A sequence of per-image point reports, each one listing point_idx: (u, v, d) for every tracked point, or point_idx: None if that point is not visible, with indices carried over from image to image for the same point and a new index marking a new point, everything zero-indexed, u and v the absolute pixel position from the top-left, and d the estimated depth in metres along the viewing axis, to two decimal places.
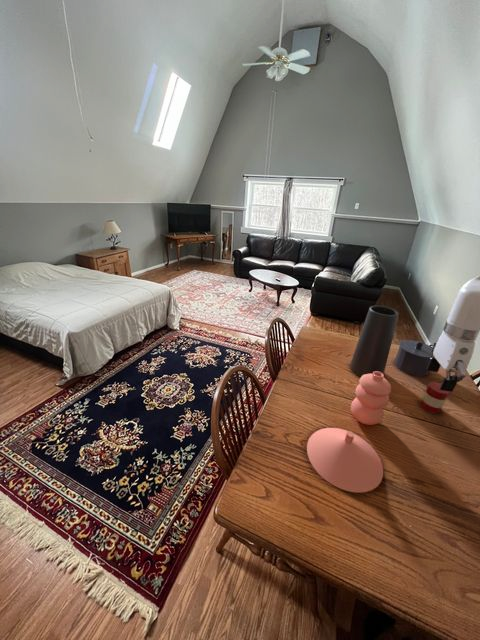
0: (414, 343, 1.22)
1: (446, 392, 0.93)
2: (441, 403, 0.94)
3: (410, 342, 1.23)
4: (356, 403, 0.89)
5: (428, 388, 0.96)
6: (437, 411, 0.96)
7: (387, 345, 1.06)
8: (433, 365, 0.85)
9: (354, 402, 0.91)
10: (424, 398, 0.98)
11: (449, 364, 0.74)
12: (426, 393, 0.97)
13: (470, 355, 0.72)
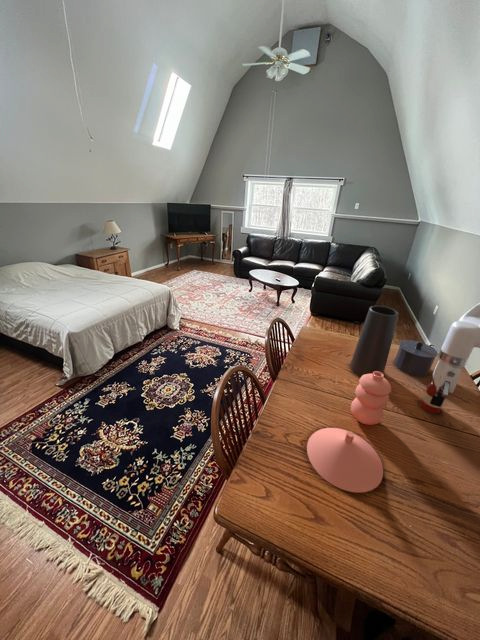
0: (414, 343, 1.22)
1: None
2: None
3: (410, 342, 1.23)
4: (356, 403, 0.89)
5: (428, 388, 0.96)
6: (437, 411, 0.96)
7: (387, 345, 1.06)
8: None
9: (354, 402, 0.91)
10: (424, 398, 0.98)
11: (439, 383, 0.90)
12: (426, 393, 0.97)
13: (456, 378, 0.87)
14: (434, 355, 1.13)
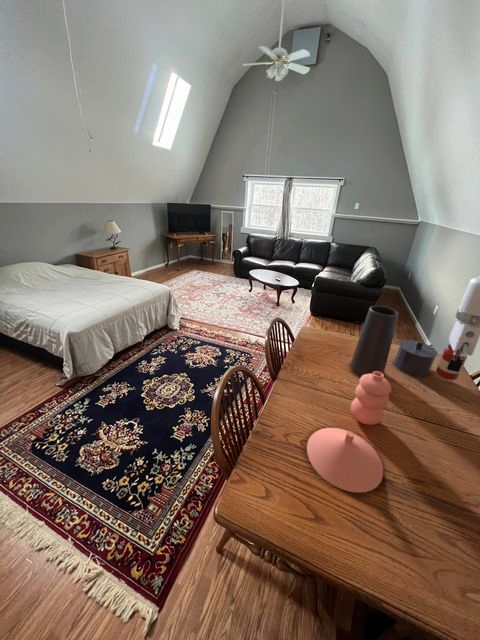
0: (414, 343, 1.22)
1: None
2: None
3: (410, 342, 1.23)
4: (356, 403, 0.89)
5: (444, 353, 0.90)
6: (454, 377, 0.90)
7: (387, 345, 1.06)
8: None
9: (354, 402, 0.91)
10: (440, 364, 0.92)
11: (456, 346, 0.84)
12: (442, 359, 0.91)
13: (476, 338, 0.81)
14: (434, 355, 1.13)
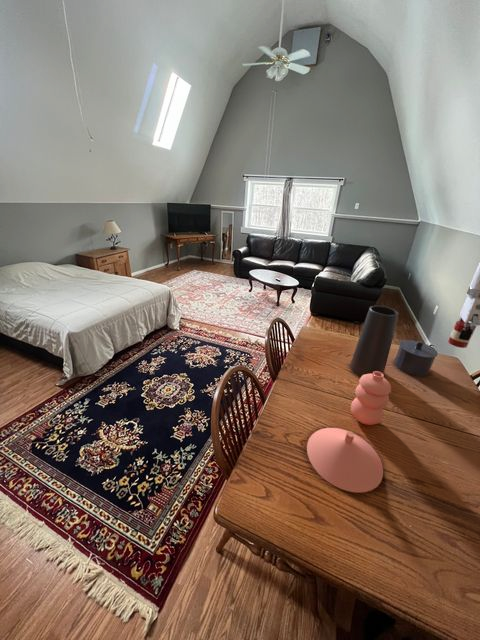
0: (414, 343, 1.22)
1: None
2: None
3: (410, 342, 1.23)
4: (356, 403, 0.89)
5: (456, 325, 1.06)
6: (464, 346, 1.06)
7: (387, 345, 1.06)
8: None
9: (354, 402, 0.91)
10: (452, 335, 1.08)
11: (467, 317, 1.00)
12: (454, 330, 1.07)
13: None
14: (434, 355, 1.13)
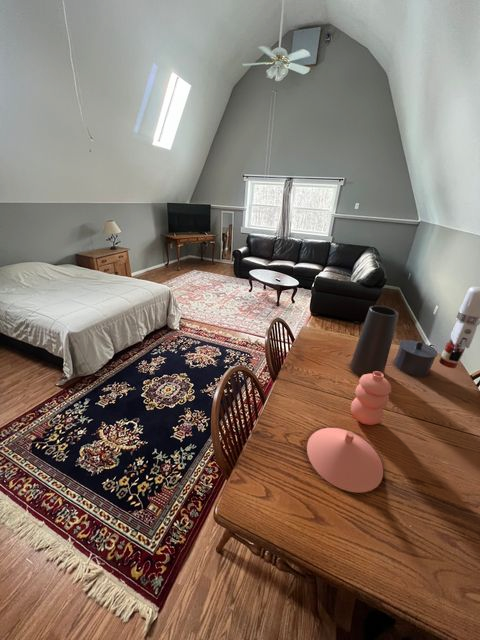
0: (414, 343, 1.22)
1: None
2: None
3: (410, 342, 1.23)
4: (356, 403, 0.89)
5: (446, 346, 1.12)
6: (454, 366, 1.12)
7: (387, 345, 1.06)
8: None
9: (354, 402, 0.91)
10: (443, 356, 1.14)
11: (457, 340, 1.06)
12: (445, 351, 1.13)
13: (472, 335, 1.03)
14: (434, 355, 1.13)
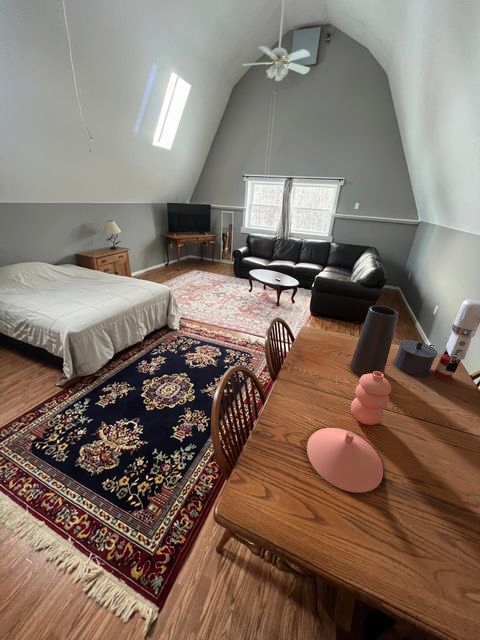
0: (414, 343, 1.22)
1: None
2: None
3: (410, 342, 1.23)
4: (356, 403, 0.89)
5: (441, 358, 1.15)
6: (449, 378, 1.15)
7: (387, 345, 1.06)
8: None
9: (354, 402, 0.91)
10: (438, 367, 1.16)
11: (452, 352, 1.08)
12: (439, 363, 1.15)
13: (467, 347, 1.05)
14: (434, 355, 1.13)
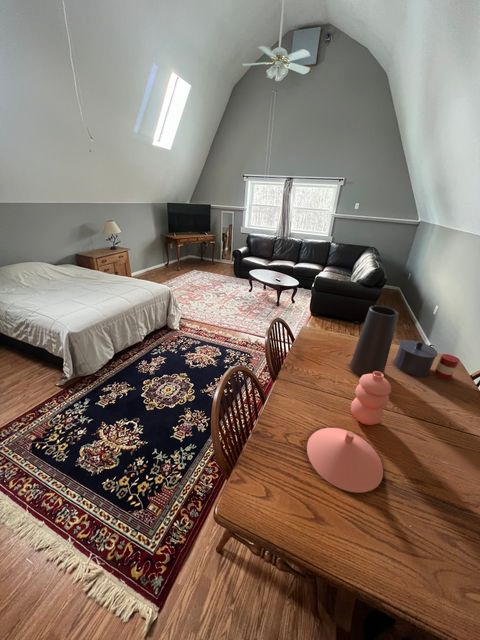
0: (414, 343, 1.22)
1: (457, 361, 1.12)
2: (452, 370, 1.13)
3: (410, 342, 1.23)
4: (356, 403, 0.89)
5: (441, 358, 1.15)
6: (449, 378, 1.15)
7: (387, 345, 1.06)
8: None
9: (354, 402, 0.91)
10: (438, 367, 1.16)
11: None
12: (439, 363, 1.15)
13: None
14: (434, 355, 1.13)
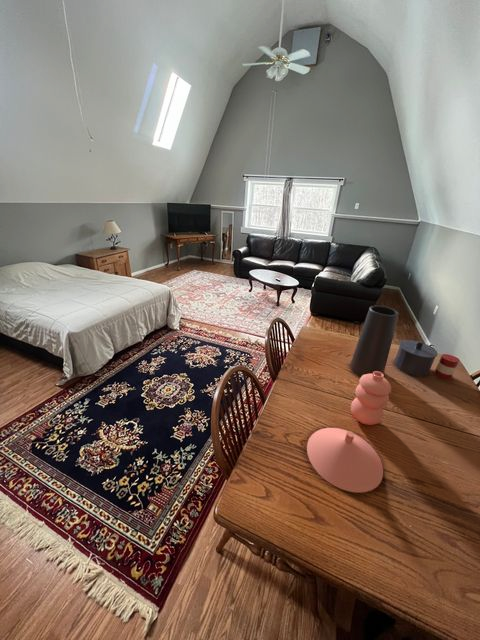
0: (414, 343, 1.22)
1: (457, 361, 1.12)
2: (452, 370, 1.13)
3: (410, 342, 1.23)
4: (356, 403, 0.89)
5: (441, 358, 1.15)
6: (449, 378, 1.15)
7: (387, 345, 1.06)
8: None
9: (354, 402, 0.91)
10: (438, 367, 1.16)
11: None
12: (439, 363, 1.15)
13: None
14: (434, 355, 1.13)
